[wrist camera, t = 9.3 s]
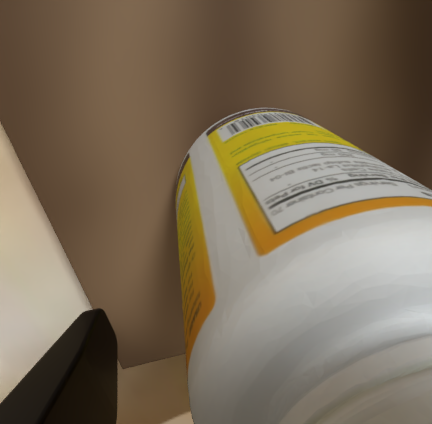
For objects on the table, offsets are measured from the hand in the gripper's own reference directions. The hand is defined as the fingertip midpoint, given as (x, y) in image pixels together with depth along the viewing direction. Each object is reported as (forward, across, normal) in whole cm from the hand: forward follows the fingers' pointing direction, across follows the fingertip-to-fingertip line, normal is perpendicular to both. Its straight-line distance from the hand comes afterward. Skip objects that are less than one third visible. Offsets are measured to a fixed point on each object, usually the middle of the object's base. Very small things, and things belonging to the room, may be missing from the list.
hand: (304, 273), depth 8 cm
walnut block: (+7, 0, 0) cm, 7 cm away
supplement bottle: (+5, 0, 0) cm, 5 cm away
